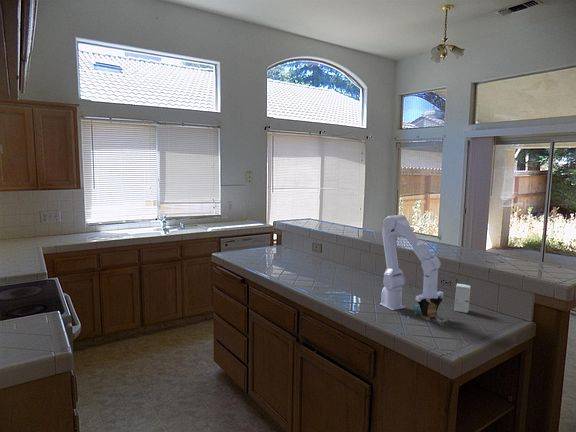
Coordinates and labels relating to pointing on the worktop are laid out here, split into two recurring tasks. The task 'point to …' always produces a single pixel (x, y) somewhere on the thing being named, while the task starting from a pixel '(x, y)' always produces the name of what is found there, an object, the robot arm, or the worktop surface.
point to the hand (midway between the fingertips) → (428, 314)
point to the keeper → (430, 312)
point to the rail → (438, 321)
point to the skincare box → (462, 298)
